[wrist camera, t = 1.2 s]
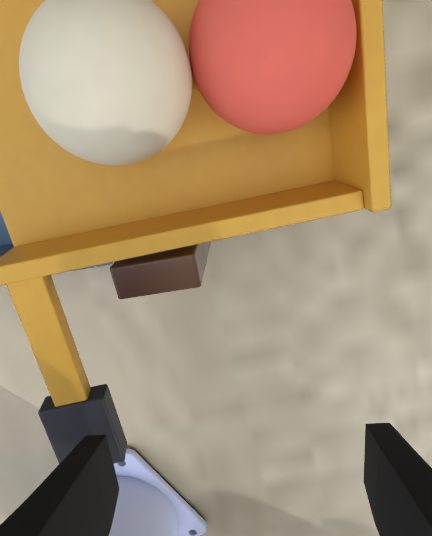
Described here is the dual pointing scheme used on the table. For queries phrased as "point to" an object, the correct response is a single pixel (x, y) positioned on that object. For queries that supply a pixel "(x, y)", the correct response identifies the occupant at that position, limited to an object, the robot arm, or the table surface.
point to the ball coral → (271, 59)
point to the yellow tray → (168, 199)
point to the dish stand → (160, 271)
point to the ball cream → (106, 77)
